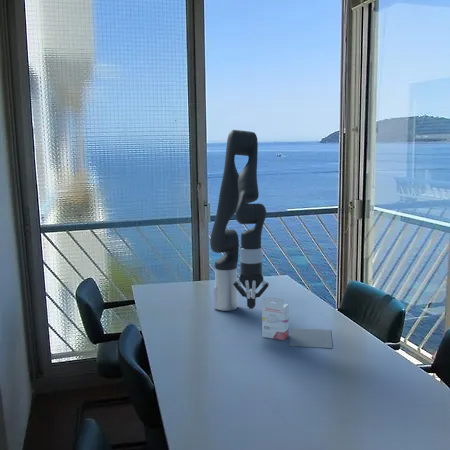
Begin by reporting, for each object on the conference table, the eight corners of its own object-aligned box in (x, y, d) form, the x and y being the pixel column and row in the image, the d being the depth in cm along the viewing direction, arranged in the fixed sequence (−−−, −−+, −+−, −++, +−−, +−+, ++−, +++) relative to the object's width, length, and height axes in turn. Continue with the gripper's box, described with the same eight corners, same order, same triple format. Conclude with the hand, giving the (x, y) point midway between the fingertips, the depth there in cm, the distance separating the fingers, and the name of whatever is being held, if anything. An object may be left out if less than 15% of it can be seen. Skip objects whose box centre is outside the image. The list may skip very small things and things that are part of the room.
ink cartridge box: (289, 336, 178) (289, 296, 176) (284, 340, 174) (284, 299, 171) (267, 332, 182) (267, 293, 180) (261, 336, 178) (261, 296, 175)
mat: (289, 346, 168) (289, 345, 168) (292, 328, 185) (292, 328, 185) (332, 348, 166) (332, 347, 166) (330, 330, 182) (330, 329, 182)
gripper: (230, 262, 173) (231, 310, 175) (268, 263, 170) (269, 312, 173) (234, 257, 180) (234, 304, 182) (270, 258, 178) (271, 305, 180)
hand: (251, 308), depth 178 cm, fingers closed
